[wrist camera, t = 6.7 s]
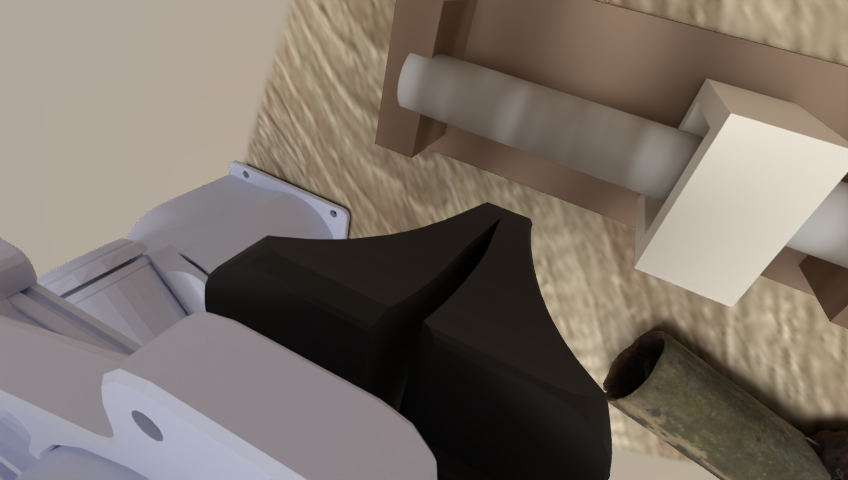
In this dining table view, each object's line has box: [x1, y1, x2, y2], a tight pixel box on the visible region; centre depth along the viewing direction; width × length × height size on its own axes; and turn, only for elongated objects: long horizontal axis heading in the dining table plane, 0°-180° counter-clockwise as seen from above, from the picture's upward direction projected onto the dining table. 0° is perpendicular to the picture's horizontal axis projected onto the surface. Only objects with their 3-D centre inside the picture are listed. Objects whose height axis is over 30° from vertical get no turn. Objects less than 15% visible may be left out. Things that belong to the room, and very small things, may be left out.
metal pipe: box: [603, 331, 848, 480], centre depth 20 cm, size 18×7×6 cm, turn 64°
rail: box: [375, 0, 848, 329], centre depth 16 cm, size 20×8×5 cm, turn 77°
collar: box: [634, 78, 848, 307], centre depth 14 cm, size 3×5×6 cm, turn 167°
